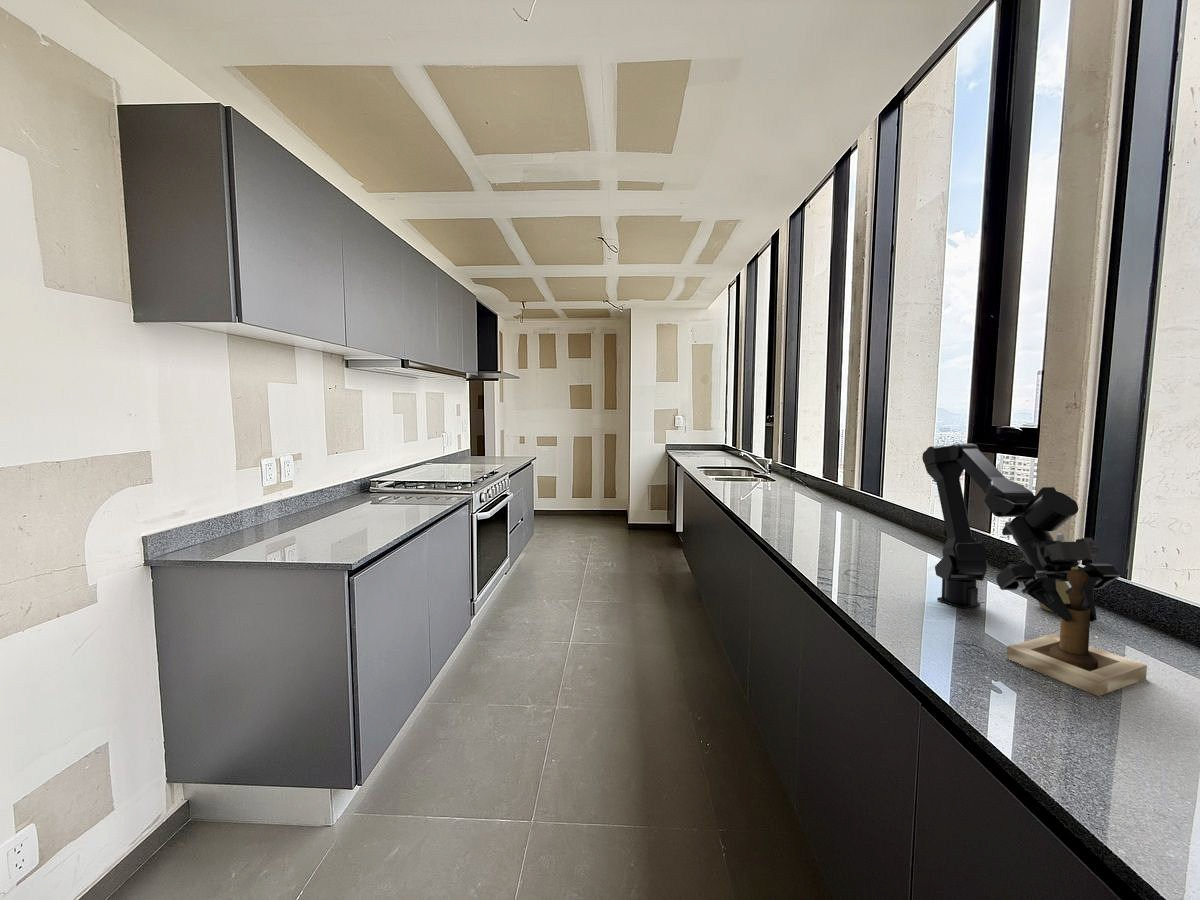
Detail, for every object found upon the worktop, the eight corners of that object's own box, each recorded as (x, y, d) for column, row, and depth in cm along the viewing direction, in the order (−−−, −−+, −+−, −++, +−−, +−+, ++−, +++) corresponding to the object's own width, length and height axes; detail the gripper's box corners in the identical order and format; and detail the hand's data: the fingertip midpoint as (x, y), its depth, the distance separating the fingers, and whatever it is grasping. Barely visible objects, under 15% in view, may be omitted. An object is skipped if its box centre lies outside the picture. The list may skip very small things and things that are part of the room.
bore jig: (1006, 659, 99) (1006, 646, 99) (1052, 645, 104) (1053, 633, 104) (1098, 696, 86) (1099, 681, 86) (1146, 679, 91) (1146, 665, 91)
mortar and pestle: (1042, 663, 96) (1047, 568, 95) (1057, 654, 100) (1063, 562, 98) (1088, 679, 91) (1095, 578, 89) (1104, 669, 94) (1110, 571, 92)
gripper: (1009, 522, 97) (1055, 602, 87) (1114, 521, 96) (1172, 601, 86) (979, 551, 106) (1017, 627, 96) (1074, 551, 105) (1123, 627, 95)
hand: (1081, 620), depth 93 cm, fingers closed on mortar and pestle, 4 cm apart
